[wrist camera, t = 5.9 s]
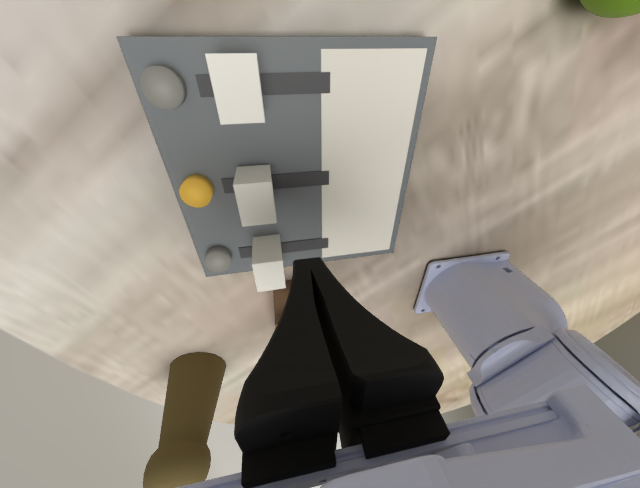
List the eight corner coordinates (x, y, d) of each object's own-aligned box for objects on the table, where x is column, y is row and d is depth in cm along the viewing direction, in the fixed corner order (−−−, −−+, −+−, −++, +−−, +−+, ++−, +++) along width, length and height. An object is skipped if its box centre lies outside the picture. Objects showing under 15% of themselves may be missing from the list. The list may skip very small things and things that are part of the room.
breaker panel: (423, 38, 15) (476, 31, 11) (386, 242, 24) (409, 276, 20) (129, 38, 13) (75, 30, 9) (209, 264, 22) (198, 307, 18)
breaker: (269, 164, 16) (271, 181, 14) (274, 202, 17) (276, 223, 15) (236, 166, 16) (232, 184, 13) (244, 204, 17) (242, 226, 15)
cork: (157, 366, 28) (110, 504, 19) (204, 345, 28) (178, 477, 19) (194, 386, 32) (169, 509, 23) (236, 368, 31) (227, 487, 23)
